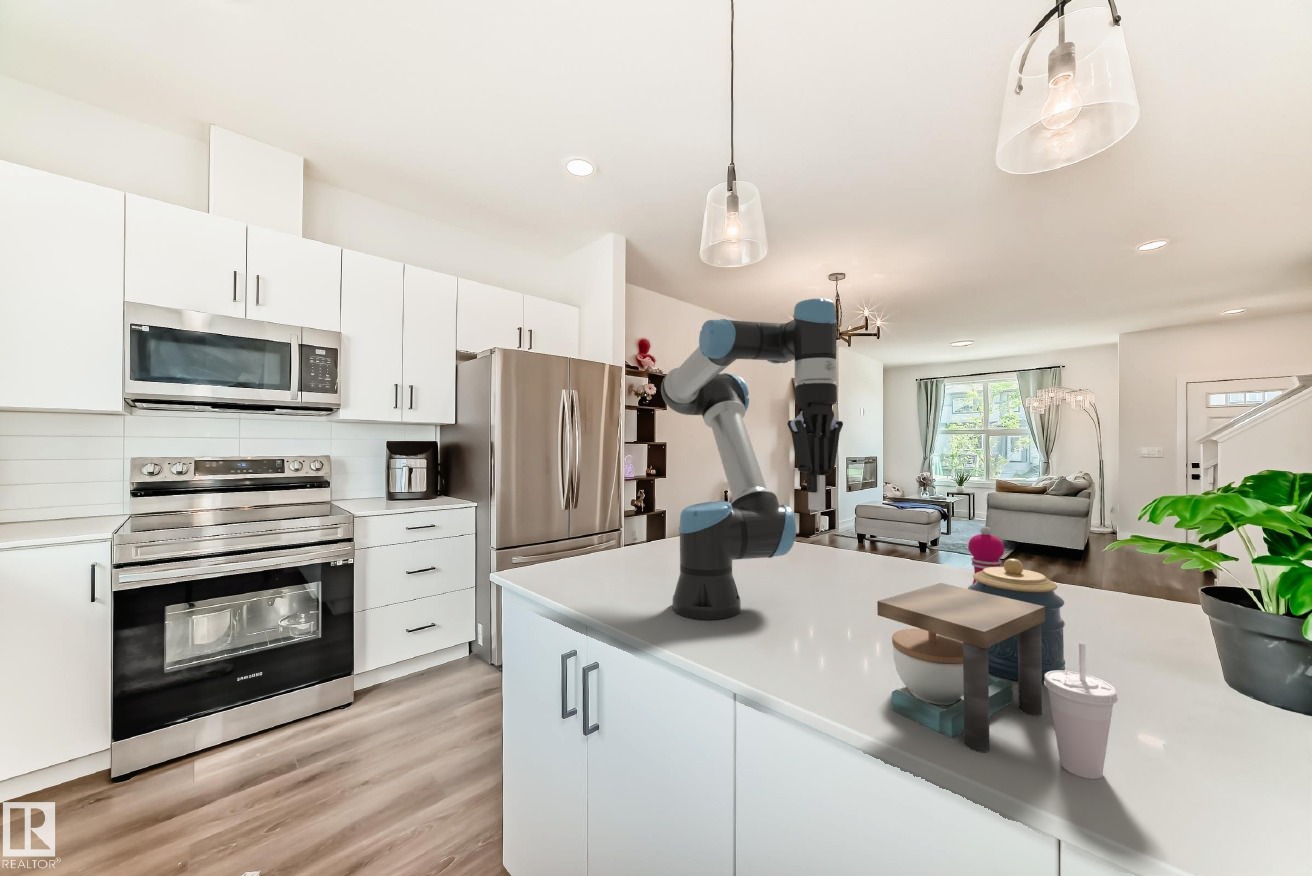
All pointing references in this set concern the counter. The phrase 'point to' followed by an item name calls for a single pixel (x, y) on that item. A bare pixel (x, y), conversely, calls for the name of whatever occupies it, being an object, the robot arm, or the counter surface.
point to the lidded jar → (929, 665)
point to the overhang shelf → (972, 655)
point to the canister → (1031, 590)
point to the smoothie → (1081, 718)
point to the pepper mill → (985, 550)
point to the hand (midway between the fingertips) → (816, 509)
